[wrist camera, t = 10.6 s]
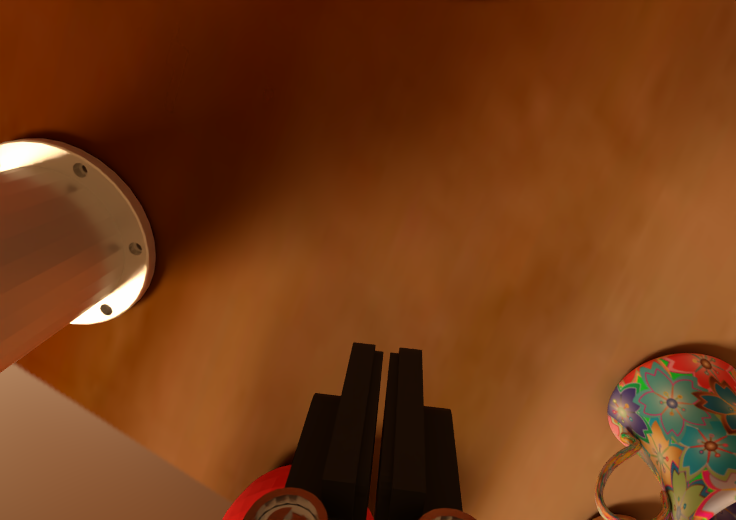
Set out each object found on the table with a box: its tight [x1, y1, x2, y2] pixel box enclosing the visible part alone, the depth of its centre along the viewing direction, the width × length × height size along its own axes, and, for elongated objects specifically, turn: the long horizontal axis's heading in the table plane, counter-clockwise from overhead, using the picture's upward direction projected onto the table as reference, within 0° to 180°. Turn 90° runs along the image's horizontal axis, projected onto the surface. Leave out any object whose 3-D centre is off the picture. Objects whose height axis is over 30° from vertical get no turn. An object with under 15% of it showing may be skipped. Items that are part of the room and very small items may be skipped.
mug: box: [595, 353, 736, 520], centre depth 25 cm, size 12×9×11 cm
